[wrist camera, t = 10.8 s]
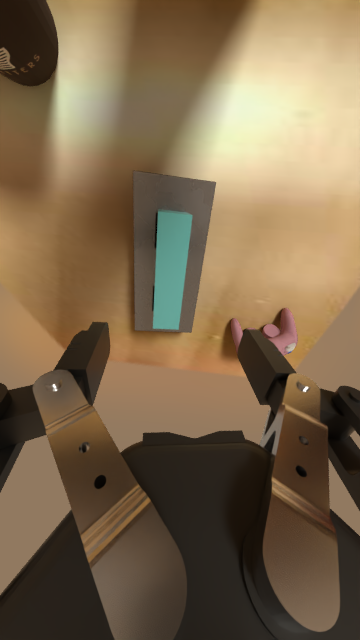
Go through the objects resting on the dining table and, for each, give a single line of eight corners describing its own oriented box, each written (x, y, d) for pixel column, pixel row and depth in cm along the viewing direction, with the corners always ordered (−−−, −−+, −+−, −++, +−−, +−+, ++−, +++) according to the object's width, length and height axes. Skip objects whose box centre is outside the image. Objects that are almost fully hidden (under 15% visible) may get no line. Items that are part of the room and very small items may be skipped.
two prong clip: (158, 208, 23) (158, 211, 17) (184, 211, 23) (192, 215, 17) (154, 301, 29) (152, 328, 23) (174, 303, 29) (178, 329, 23)
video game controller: (226, 330, 35) (238, 368, 32) (228, 316, 32) (243, 358, 28) (281, 319, 35) (300, 356, 32) (290, 304, 31) (313, 344, 28)
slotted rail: (136, 174, 22) (133, 170, 19) (208, 184, 23) (216, 182, 20) (137, 317, 31) (134, 330, 28) (188, 320, 32) (191, 332, 29)
